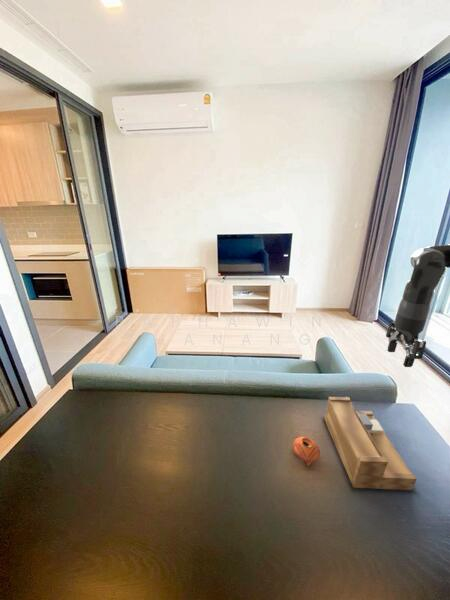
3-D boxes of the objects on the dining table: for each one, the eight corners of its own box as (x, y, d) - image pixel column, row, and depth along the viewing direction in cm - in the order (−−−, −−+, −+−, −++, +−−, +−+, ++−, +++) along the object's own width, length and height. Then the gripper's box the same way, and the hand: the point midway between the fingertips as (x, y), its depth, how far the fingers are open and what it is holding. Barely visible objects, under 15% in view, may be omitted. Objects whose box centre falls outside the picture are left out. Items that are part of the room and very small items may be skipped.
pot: (289, 464, 74) (292, 443, 73) (293, 447, 81) (295, 428, 80) (317, 474, 71) (320, 453, 70) (319, 456, 78) (321, 437, 77)
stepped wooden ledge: (368, 420, 89) (375, 397, 85) (412, 490, 67) (423, 463, 64) (324, 419, 90) (328, 396, 86) (353, 487, 68) (360, 461, 64)
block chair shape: (375, 422, 84) (378, 414, 82) (383, 433, 80) (385, 425, 78) (352, 421, 84) (354, 413, 83) (358, 432, 80) (360, 424, 79)
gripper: (442, 324, 68) (425, 372, 74) (408, 305, 82) (396, 347, 87) (415, 324, 69) (400, 371, 74) (386, 305, 82) (375, 346, 88)
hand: (398, 358), depth 81 cm, fingers open, 8 cm apart
